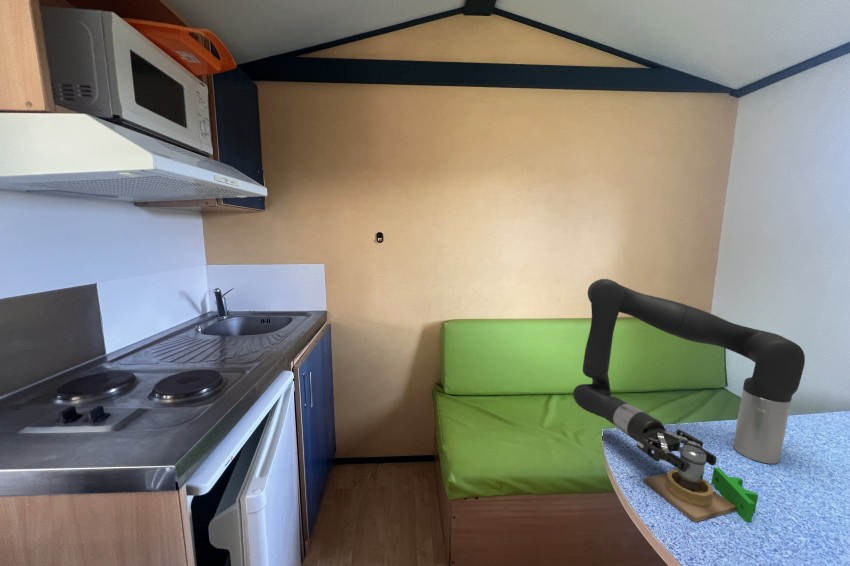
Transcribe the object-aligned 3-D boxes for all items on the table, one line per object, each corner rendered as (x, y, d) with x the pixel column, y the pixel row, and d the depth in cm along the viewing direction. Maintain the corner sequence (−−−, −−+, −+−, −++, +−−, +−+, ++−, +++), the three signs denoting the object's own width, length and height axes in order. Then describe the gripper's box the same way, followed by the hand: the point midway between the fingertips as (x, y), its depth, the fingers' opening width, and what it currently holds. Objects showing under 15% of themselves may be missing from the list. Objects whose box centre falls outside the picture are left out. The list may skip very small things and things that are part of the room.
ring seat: (681, 473, 86) (683, 460, 86) (735, 510, 75) (738, 496, 75) (643, 482, 83) (645, 468, 83) (694, 522, 72) (696, 507, 71)
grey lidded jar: (684, 482, 82) (691, 443, 80) (705, 496, 78) (712, 456, 76) (670, 485, 81) (676, 446, 79) (689, 500, 76) (696, 459, 75)
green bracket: (765, 525, 72) (769, 505, 71) (744, 522, 72) (748, 503, 72) (728, 486, 83) (731, 468, 82) (711, 483, 83) (714, 466, 83)
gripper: (617, 414, 89) (678, 454, 74) (660, 408, 93) (727, 444, 77) (614, 441, 90) (674, 486, 75) (656, 434, 94) (721, 474, 79)
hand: (701, 464), depth 76 cm, fingers open, 8 cm apart
